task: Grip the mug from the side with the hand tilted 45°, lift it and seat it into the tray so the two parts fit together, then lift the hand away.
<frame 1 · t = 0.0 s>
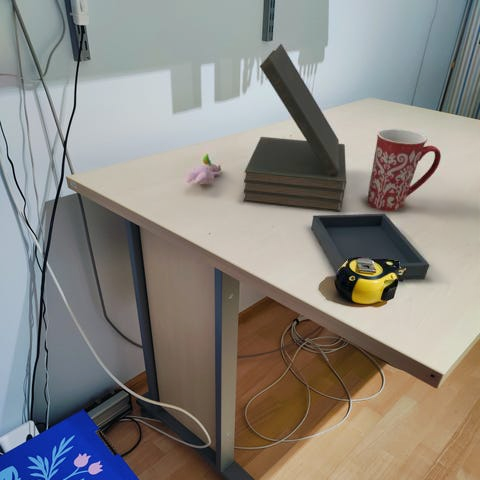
mug: (392, 205, 87), on the table
tray: (363, 251, 72), on the table
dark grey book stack: (295, 185, 93), on the table
pink toy figure: (204, 183, 92), on the table
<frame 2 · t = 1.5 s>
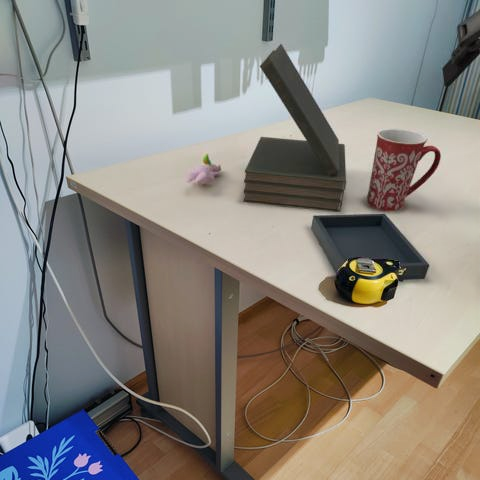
nothing on the table moved.
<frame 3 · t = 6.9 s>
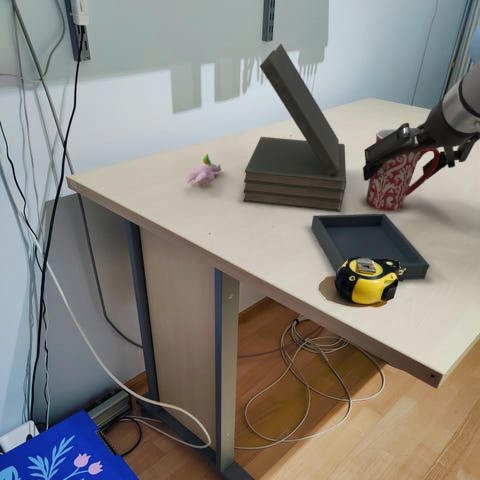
hand: (395, 173, 85), 5 cm above the table, tool tilted 45°, fingers closed on mug, 12 cm apart
mug: (391, 205, 87), on the table, touching gripper
everything else where it was.
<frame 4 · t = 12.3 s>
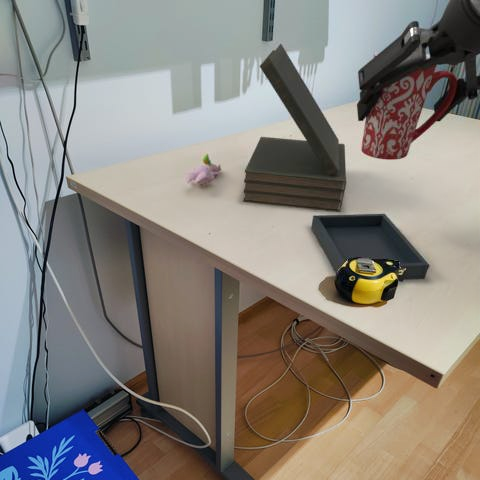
hand: (398, 113, 66), 20 cm above the table, tool tilted 45°, fingers closed on mug, 12 cm apart
mug: (393, 154, 68), point 14 cm above the table, touching gripper
everything else where it was.
when the fingers open (6 cm above the table, at t = 17.6 s): mug stays where it is, resting on tray.
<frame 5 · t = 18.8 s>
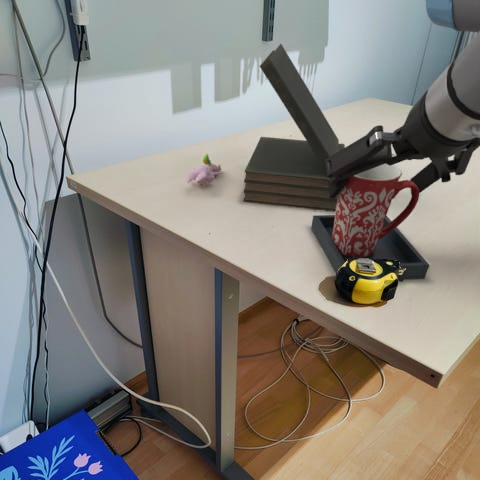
hand: (372, 188, 67), 10 cm above the table, tool tilted 45°, fingers open, 13 cm apart
mug: (362, 249, 71), resting on tray
everything else where it was.
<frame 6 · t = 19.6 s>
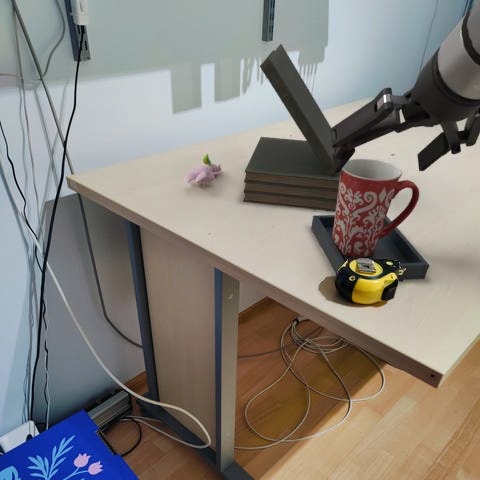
hand: (378, 163, 64), 14 cm above the table, tool tilted 45°, fingers open, 13 cm apart
mug: (362, 249, 71), resting on tray, touching gripper
everything else where it was.
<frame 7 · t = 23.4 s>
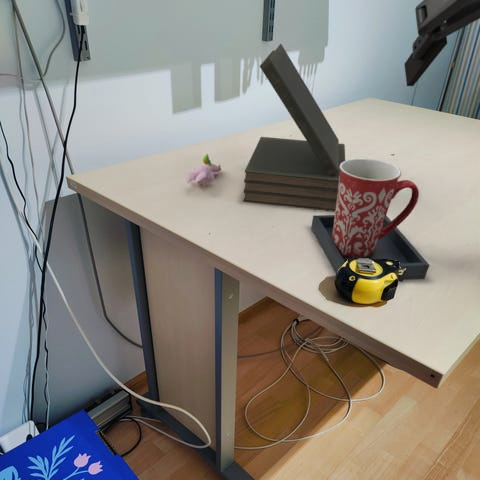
hand: (464, 75, 49), 28 cm above the table, tool tilted 45°, fingers open, 13 cm apart
mug: (362, 249, 71), resting on tray
everything else where it was.
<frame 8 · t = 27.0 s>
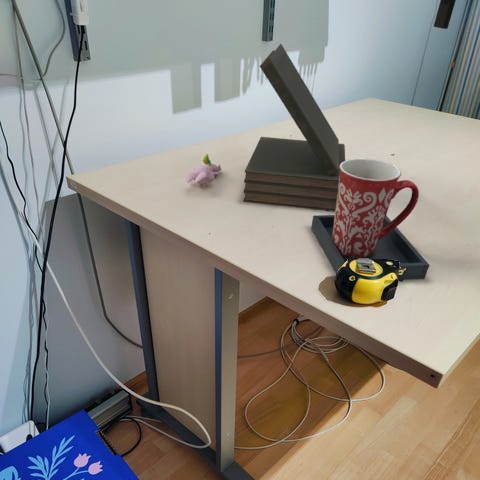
nothing on the table moved.
at the end: mug 0.2 cm off-centre in the tray, point 0.4 cm above the tray's base; mug tilted 0°; the gripper is holding nothing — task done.
